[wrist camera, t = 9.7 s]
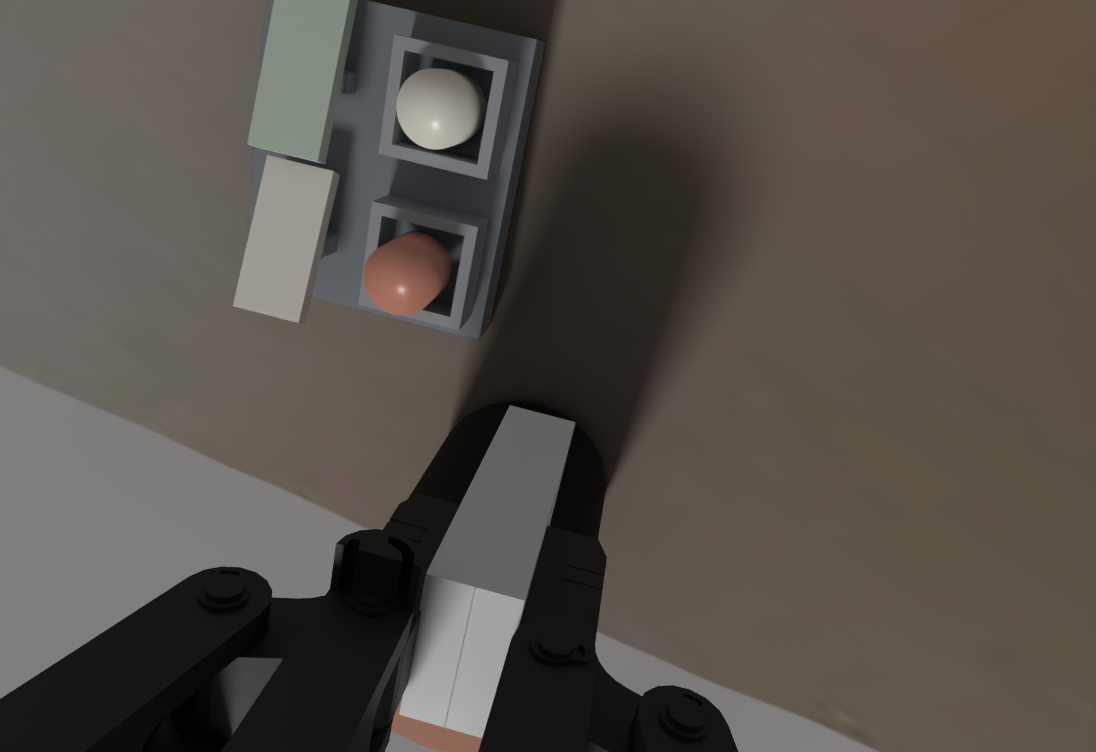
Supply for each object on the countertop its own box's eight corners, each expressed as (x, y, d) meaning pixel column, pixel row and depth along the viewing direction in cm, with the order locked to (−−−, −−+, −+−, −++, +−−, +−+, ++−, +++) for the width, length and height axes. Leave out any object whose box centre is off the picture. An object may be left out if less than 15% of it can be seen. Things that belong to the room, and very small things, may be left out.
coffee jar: (417, 419, 51) (294, 584, 35) (575, 372, 49) (524, 526, 32) (479, 560, 54) (393, 774, 37) (630, 522, 52) (610, 735, 35)
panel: (545, 42, 42) (528, 37, 37) (489, 324, 48) (467, 354, 43) (293, -17, 43) (241, -30, 38) (268, 268, 49) (220, 291, 44)
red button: (457, 240, 42) (440, 253, 38) (446, 305, 43) (428, 323, 40) (391, 223, 42) (368, 235, 39) (381, 289, 43) (359, 305, 40)
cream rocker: (344, 178, 43) (333, 171, 41) (311, 323, 44) (298, 322, 42) (281, 162, 43) (267, 154, 42) (248, 307, 44) (232, 305, 42)
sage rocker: (363, 4, 40) (351, -9, 38) (330, 166, 41) (317, 161, 39) (294, -12, 40) (278, -26, 38) (263, 150, 41) (247, 144, 39)
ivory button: (493, 78, 40) (477, 78, 37) (479, 151, 41) (463, 157, 38) (423, 62, 40) (402, 60, 37) (412, 135, 42) (391, 139, 38)
